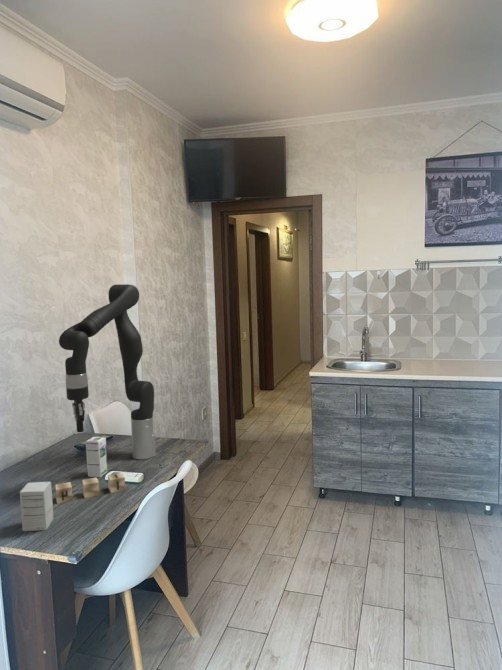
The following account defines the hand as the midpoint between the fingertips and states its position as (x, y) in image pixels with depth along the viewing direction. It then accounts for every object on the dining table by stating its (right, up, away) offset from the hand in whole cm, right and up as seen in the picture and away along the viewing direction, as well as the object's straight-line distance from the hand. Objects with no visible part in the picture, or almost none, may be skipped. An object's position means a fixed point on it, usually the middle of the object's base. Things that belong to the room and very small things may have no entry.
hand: (80, 431), depth 179 cm
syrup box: (+2, -20, +13) cm, 24 cm away
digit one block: (+14, -21, -1) cm, 25 cm away
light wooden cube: (-2, -22, -9) cm, 24 cm away
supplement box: (-4, -24, -27) cm, 36 cm away
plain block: (+6, -22, -5) cm, 23 cm away
